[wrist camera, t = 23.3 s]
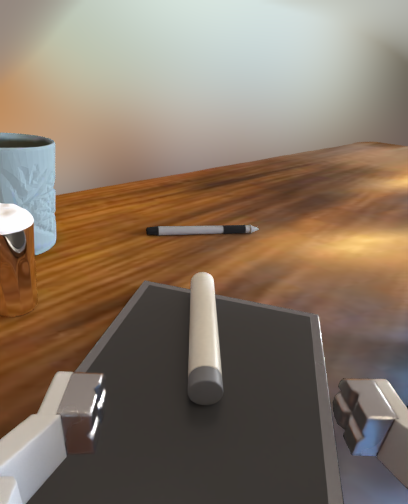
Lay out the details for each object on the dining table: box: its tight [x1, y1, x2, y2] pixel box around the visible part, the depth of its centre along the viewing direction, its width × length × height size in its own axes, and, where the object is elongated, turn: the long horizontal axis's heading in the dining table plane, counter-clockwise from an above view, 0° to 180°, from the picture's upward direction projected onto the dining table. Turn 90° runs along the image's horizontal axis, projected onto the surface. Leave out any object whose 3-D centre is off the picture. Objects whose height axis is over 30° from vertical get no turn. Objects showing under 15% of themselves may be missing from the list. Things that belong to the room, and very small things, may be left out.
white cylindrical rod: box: [187, 272, 223, 405], centre depth 26 cm, size 2×2×13 cm
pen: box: [146, 225, 258, 236], centre depth 47 cm, size 1×16×1 cm, turn 105°
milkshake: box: [0, 203, 38, 317], centre depth 27 cm, size 4×5×10 cm
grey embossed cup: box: [0, 133, 56, 255], centre depth 38 cm, size 10×10×12 cm
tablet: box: [26, 281, 344, 504], centre depth 22 cm, size 24×17×1 cm
